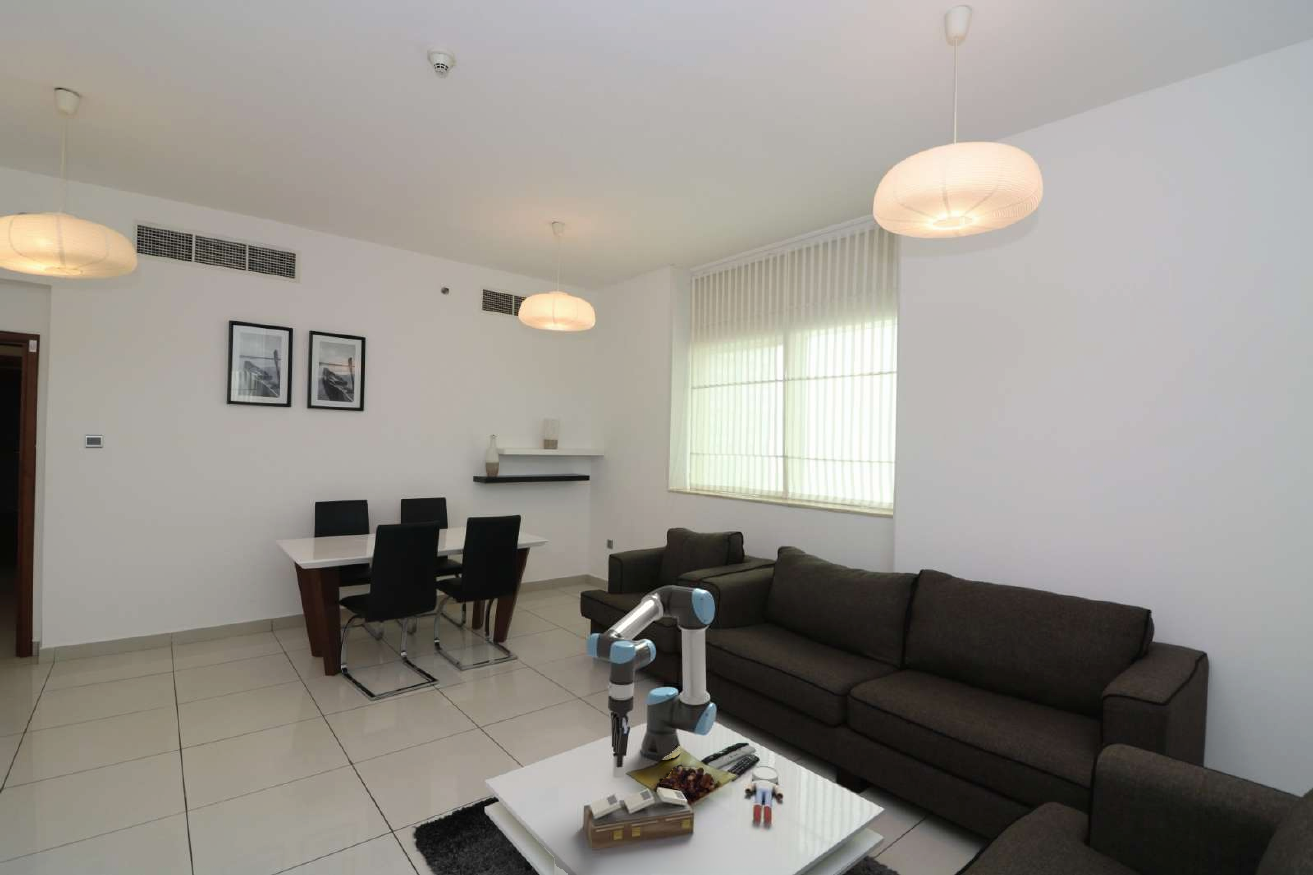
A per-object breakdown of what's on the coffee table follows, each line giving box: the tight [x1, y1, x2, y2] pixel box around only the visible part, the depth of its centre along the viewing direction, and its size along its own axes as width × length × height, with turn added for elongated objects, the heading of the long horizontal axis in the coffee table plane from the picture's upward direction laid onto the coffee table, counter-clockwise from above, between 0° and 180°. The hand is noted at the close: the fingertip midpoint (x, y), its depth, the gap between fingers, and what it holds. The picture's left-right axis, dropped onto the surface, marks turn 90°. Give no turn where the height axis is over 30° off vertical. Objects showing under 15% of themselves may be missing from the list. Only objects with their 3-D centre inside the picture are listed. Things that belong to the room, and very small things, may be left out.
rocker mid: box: [623, 788, 655, 814], centre depth 186 cm, size 6×8×1 cm
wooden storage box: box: [582, 794, 695, 851], centre depth 186 cm, size 12×31×7 cm, turn 108°
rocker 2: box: [656, 786, 688, 805], centre depth 189 cm, size 6×8×2 cm
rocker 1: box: [589, 792, 621, 819], centre depth 183 cm, size 6×8×2 cm
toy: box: [744, 765, 784, 823], centre depth 207 cm, size 6×13×30 cm
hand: (617, 776), depth 184 cm, fingers closed
